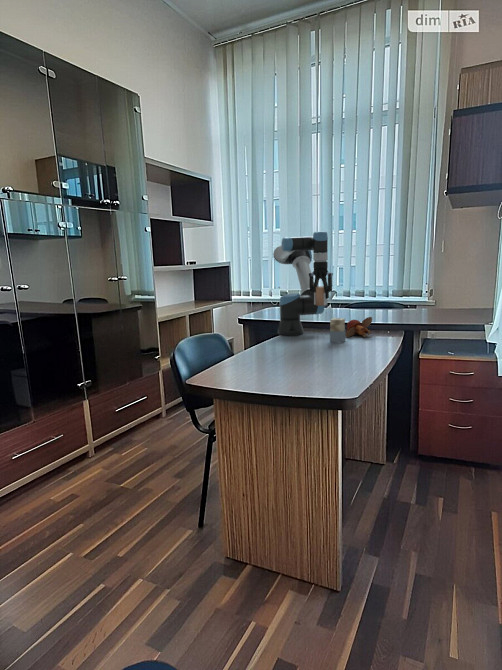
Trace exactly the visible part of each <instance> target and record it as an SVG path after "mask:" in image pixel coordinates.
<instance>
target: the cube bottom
mask: <svg viewBox="0 0 502 670" xmlns="http://www.w3.org/2000/svg"><path fill="white" fill-rule="evenodd" d="M345 332H346V329H345V330H343V331H342V332H338V331H330V330H329V342H330V343H334V344H335V343H336V344H342V343H343V342H346V336H345Z"/></svg>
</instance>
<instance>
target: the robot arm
mask: <svg viewBox="0 0 502 670" xmlns="http://www.w3.org/2000/svg"><path fill="white" fill-rule="evenodd" d="M328 239H329V238H328V232H327V231H325V230H324V231H323V230H322V231H314V232H313V234H312V236H291V237H290V236H287V237H283V238H282V240H281V245H278V246H277V247H276V248H275V249H274V251H273V253H272V254H273V259H274V260H275V261H276V262H278V263H279V264H282V265H292V267H293V268H294V269H295V270H296V274H297V279H298V281H299V286H300V289H301V294H300V293H298V292H295V293H288V294H283V295H282V296H280V297H279V314H280V315H279V316H280V317H279V319H280V320H279V324H278V327H277V335H279V336H288V337H290V336H294V337H295V336H301V335H303V334H304V327H303V325H302V322H301V316H308V315H309V316H310V315H311V316H314V315H315V316H317V315H321V314H323V313H324V312H325V307H326V306H327V305H328V299H329V298H330V295H329V293H330V292H333V275H334V273H333V272H329V270H328V269H329V268H328V265H329V262H328V258H329V256H328V253H329V252H328V249H329V248H328V245H329V244H328ZM312 253H313V254H312ZM312 259H313V267H312V268H313V271H312V270H311V267H310V264H311V262H312ZM320 280H321V281H322V286H324V290H325V292H324V306H316V287H318V286H319V282H320Z"/></svg>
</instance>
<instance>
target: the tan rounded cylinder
mask: <svg viewBox="0 0 502 670" xmlns="http://www.w3.org/2000/svg"><path fill="white" fill-rule="evenodd" d="M324 292H325V290H324V286H323V285H322V286H319V285H318V286H317V287H316V306H324Z"/></svg>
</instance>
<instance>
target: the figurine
mask: <svg viewBox="0 0 502 670" xmlns="http://www.w3.org/2000/svg"><path fill="white" fill-rule="evenodd" d="M372 322H373V316H370V317H369V316H368V317H365V318H364V319H363V320H362V321H360V320H359V319H351V320H348V322H347V324H346V330H345V338H348V337H352V336H355V335H359V336H361V337H363V338H365V337H367V336H369V335H370V334H372V330H371V329H368V328H367V327H369V326H370V325H371V324H372Z"/></svg>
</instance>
